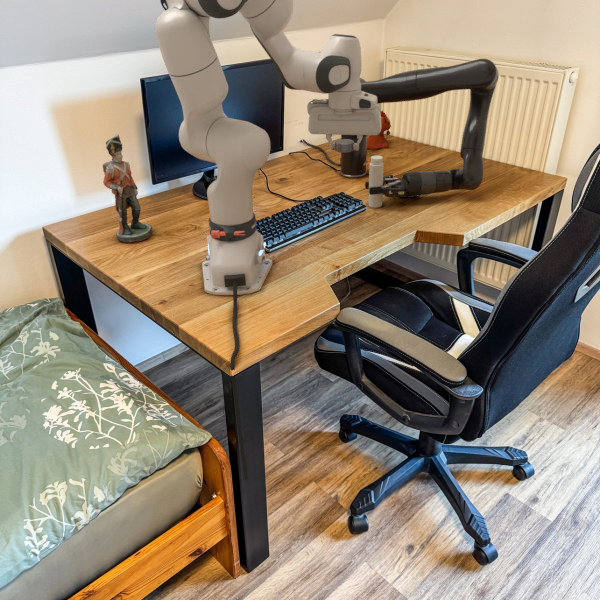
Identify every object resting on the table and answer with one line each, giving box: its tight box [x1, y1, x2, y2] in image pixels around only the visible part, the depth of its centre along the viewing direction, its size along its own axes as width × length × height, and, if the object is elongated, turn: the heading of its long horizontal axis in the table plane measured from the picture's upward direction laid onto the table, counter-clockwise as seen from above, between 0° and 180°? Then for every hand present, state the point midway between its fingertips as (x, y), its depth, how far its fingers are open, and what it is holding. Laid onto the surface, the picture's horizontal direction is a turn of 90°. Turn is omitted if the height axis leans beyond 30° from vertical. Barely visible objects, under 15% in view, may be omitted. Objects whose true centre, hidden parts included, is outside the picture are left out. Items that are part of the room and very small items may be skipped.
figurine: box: [102, 133, 153, 243], centre depth 161 cm, size 11×11×30 cm
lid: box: [334, 138, 354, 153], centre depth 159 cm, size 5×5×2 cm
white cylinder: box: [367, 154, 385, 209], centre depth 178 cm, size 4×4×16 cm
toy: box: [367, 109, 392, 151], centre depth 232 cm, size 13×18×15 cm
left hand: (344, 149), depth 160 cm, fingers closed on lid, 5 cm apart
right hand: (367, 188), depth 179 cm, fingers closed on white cylinder, 4 cm apart
